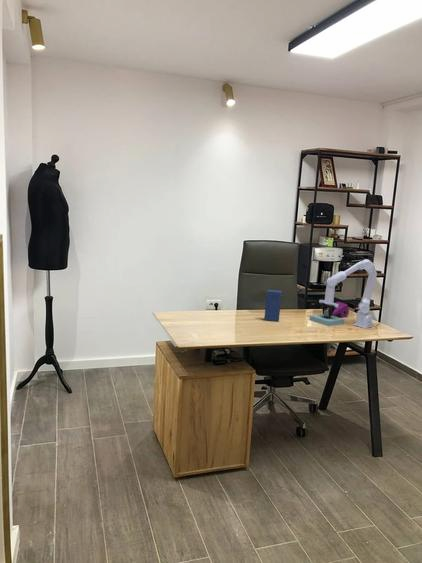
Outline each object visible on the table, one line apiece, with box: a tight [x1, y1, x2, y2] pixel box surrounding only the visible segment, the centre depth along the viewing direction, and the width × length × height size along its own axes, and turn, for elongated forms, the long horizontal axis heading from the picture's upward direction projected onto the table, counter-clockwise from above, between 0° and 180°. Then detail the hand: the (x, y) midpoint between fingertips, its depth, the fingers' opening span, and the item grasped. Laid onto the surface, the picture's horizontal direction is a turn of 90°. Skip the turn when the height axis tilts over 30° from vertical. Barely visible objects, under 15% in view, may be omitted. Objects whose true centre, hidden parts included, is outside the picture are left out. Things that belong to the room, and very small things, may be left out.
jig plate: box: [309, 313, 345, 327], centre depth 311 cm, size 16×16×3 cm
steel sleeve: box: [323, 307, 330, 319], centre depth 310 cm, size 4×4×7 cm
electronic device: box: [263, 289, 283, 322], centre depth 303 cm, size 10×5×20 cm, turn 84°
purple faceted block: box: [327, 301, 350, 319], centre depth 329 cm, size 10×8×18 cm
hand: (327, 315), depth 311 cm, fingers closed on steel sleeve, 4 cm apart
